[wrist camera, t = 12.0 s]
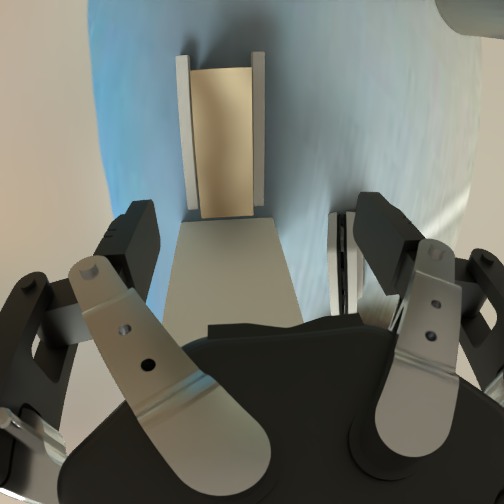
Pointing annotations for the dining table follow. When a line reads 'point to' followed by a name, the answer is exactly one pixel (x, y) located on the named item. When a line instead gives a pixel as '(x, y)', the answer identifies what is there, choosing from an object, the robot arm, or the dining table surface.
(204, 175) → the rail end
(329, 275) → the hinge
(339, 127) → the dining table surface
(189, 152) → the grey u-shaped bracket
